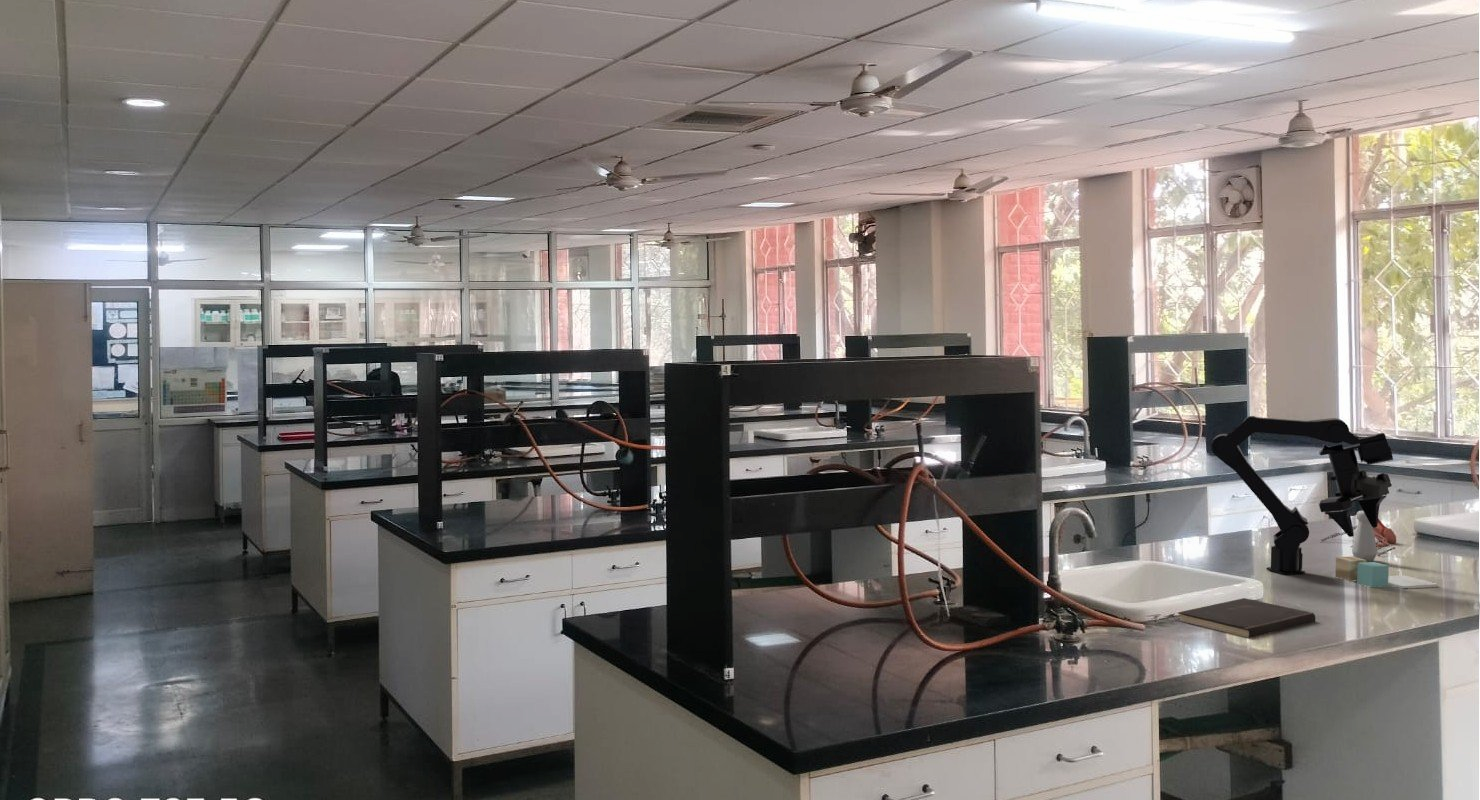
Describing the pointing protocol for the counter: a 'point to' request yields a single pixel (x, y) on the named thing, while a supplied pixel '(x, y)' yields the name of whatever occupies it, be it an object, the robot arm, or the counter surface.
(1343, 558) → the brick
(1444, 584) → the counter surface
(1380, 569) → the brick
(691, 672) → the counter surface
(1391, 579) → the plate
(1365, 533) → the salt shaker
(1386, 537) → the anatomical diagram
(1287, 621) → the hardcover book
